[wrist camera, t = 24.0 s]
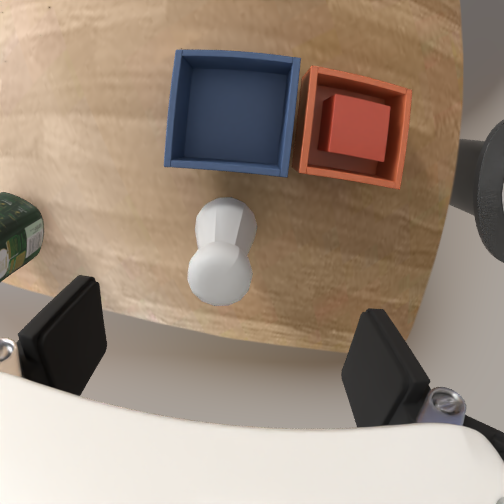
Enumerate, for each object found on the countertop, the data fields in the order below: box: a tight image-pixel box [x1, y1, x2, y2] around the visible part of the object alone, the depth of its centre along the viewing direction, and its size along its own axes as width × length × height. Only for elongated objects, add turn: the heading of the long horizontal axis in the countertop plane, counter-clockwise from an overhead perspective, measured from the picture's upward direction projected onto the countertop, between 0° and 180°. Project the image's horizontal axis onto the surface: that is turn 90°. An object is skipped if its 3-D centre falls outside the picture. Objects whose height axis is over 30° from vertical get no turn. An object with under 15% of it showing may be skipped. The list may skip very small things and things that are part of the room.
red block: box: [317, 94, 391, 162], centre depth 26 cm, size 5×5×5 cm
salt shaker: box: [188, 197, 257, 306], centre depth 26 cm, size 6×6×13 cm
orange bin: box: [292, 66, 412, 189], centre depth 26 cm, size 9×9×6 cm
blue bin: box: [164, 50, 301, 178], centre depth 26 cm, size 10×10×6 cm
